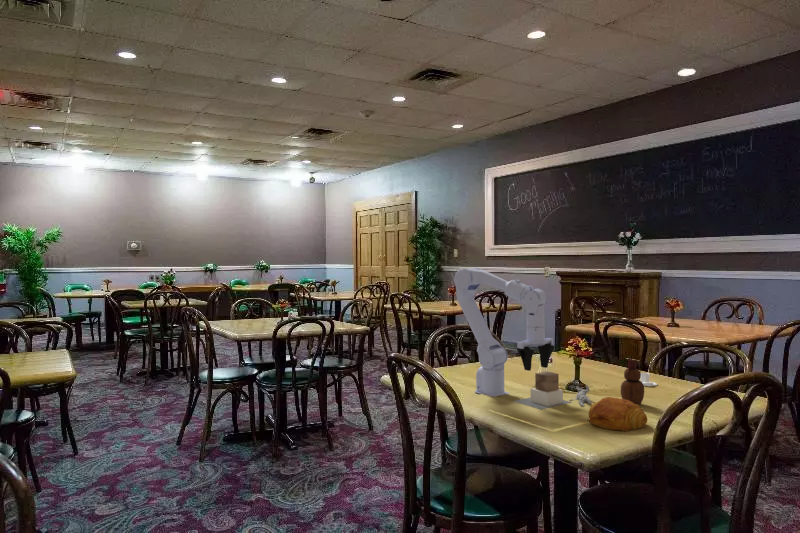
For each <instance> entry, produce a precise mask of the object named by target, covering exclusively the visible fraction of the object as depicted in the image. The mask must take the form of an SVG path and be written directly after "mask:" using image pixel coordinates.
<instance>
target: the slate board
mask: <svg viewBox="0 0 800 533" xmlns="http://www.w3.org/2000/svg"><path fill="white" fill-rule="evenodd" d="M512 402H513V403H517V404H521V405H524V406H526V407H530V408H534V409H537V410H541V411H542V410H546V409H549V408H555V407H559V406H562V405H567V404H571V403H573V402H572V401H568V400H564V399H563V403H559V404H554V405H550V406H546V405H542V404H538V403H535V402H531V396H530V397H526V398H519V399H517V400H513V401H512Z"/></svg>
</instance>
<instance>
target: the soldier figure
mask: <svg viewBox="0 0 800 533" xmlns="http://www.w3.org/2000/svg"><path fill="white" fill-rule="evenodd" d="M576 391H577V394H576V396H575V398H574V399H571V398H570V399H569V402H572V401H578V403H577V404H578V405H579V406H580V407H585V406H586V405H585V404H586V403H588V404H590V405H592V404H593V403H592V401H591V399H590V397H589V396H588V395H587V393H589V392H590V387H589V385H585V389H583V388H581V387H578V386H576Z"/></svg>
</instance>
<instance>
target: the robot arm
mask: <svg viewBox="0 0 800 533" xmlns="http://www.w3.org/2000/svg"><path fill="white" fill-rule="evenodd" d="M453 283H454V285H455V293H456V300H457V302H458V305H459V306H460V309H461V310H462V312H463V314H464V318H465V319H466V321H467V323H468V325H469V327H470V329H471V331H472V333H473V336H474V338H475V340H476V342H477V344H478V345H477V348H476V352H477V354H478V362H479V364H480V366H479V368H478V369H477V370H476V373H475V374H476V375H475V379H476V380H475V382H476V383H475V385H476V388H475V389H476V390H474V393H476V394H479V395H486V396H490V397H492V398H493V397H498V396H503V395H508V394H510V392H507V391H505V364H506V362H507V360H508V358H509V357H508V352H507V351H506V349H505V348H504V347H503V346H502V345H501V344H500V342H499V341H498V340H497V339H495V338H494V337H493V335H492V333H491V331H490V328H489V327H488V325H487V322H486V319H485V318H484V316H483V314H482V312H481V310H480V308H479V305H478V304H477V302H476V300H475V298H474V297H475V294H476V292H477V290H479V287H480V286H481V285H482V284H486V285H488V286H491V287H494V288H497V289H499V290H502V291H504V293H505V296H507V297H509V298H510V299H511V298H512V299H514V300H516V301H519V302H521V303H522V304H524V306H525V308H526V310H525V311H526V314H525V315H526V318H525V319H526V320H525V321H526V323H525V324H526V326H525V327H526V339H524V340H521V341H516V345H517V346H516V347H517V348H516V351H517V353H518V354H519V357H520V359H521V361H522V364H523V369H524V371H528V372H529V371H532V359H533V354H534V352H535V350H534V349H532V348H533V347H537V349H538V352H539V356H540V357H539V358H540V360H539V361H540V362H539V363H540V367H541V368H544V369H547V368H549V362H550V359H551V356H552V354H553V352H554V350H555V344H554V343H555V342H554V338H551V337H546V333H545V332H546V328H545V327H546V325H545V324H546V322H545V320H546V318H545V317H546V314H545V305H546V303H547V301H548V295H547V293H546V292H545V291H544V290H543V289H542V288H539V287H538V288H534V286H533V285H527V284H525V283H522V282H521V280H520V279H511V280H510V281H507V280H506V279H504V278H501V277H499V276H498V275H495V274H493V273H491V272H489V271H487V270H485V269H480V268H478V267H473V268H463V267H462V268H460V269H458V270H457V271H456V272H455V275H454V278H453Z"/></svg>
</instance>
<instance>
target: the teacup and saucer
mask: <svg viewBox="0 0 800 533" xmlns="http://www.w3.org/2000/svg"><path fill="white" fill-rule="evenodd" d="M640 373H641V378H640V381H641V382H642V383H643V385H644V387H656V386H658V383H657V382H655V381H654V382H653V381H650V375H651V374H650V373H649V372H640Z"/></svg>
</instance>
